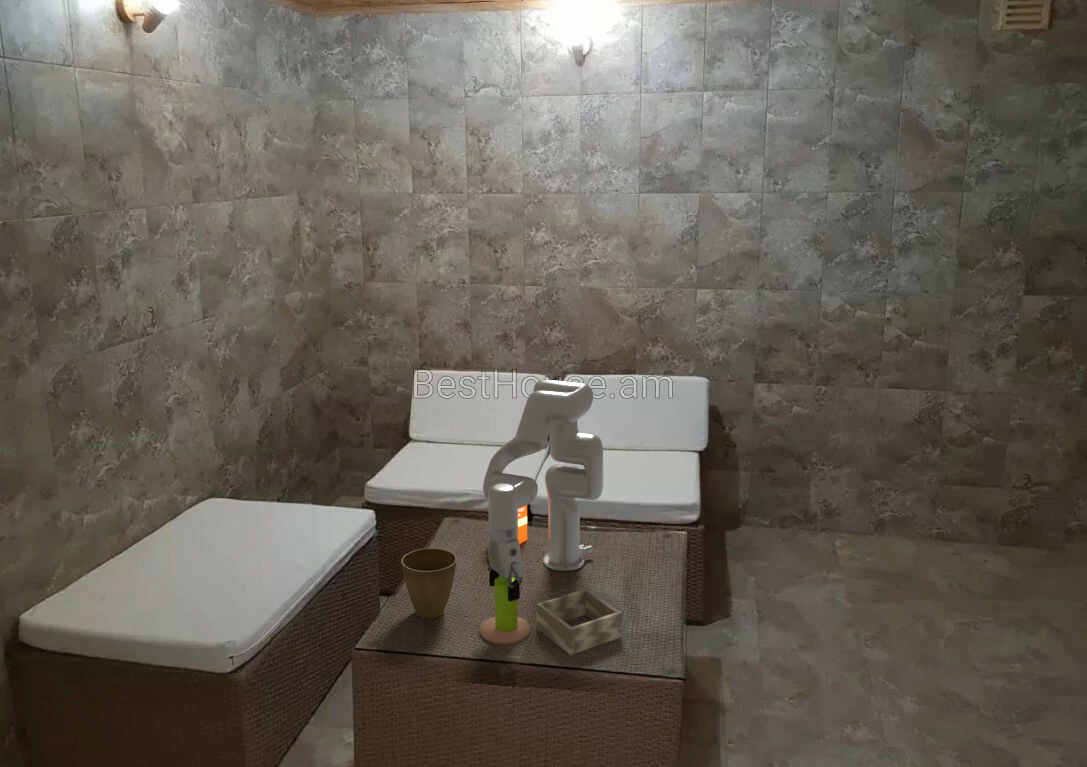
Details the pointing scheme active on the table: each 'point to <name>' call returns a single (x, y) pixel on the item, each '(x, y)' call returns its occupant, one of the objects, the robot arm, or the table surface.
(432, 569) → the plant pot
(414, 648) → the table surface
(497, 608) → the soap dispenser
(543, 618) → the open wooden box
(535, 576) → the table surface
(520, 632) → the peach oval pebble
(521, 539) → the orange juice
